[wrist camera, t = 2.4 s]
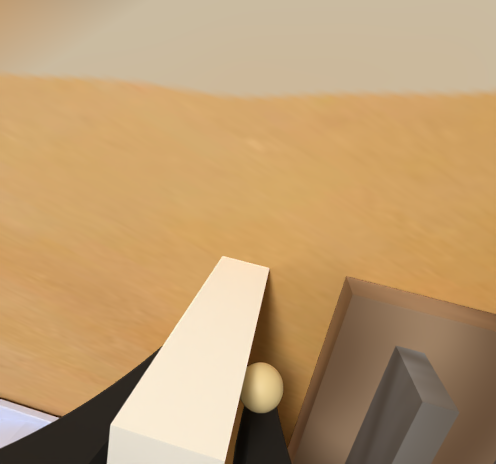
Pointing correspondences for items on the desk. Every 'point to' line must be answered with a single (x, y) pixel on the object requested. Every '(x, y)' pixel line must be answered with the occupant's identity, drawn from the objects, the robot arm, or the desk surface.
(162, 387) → the cabinet door
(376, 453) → the brown base with rails
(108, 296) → the desk surface
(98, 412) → the robot arm
